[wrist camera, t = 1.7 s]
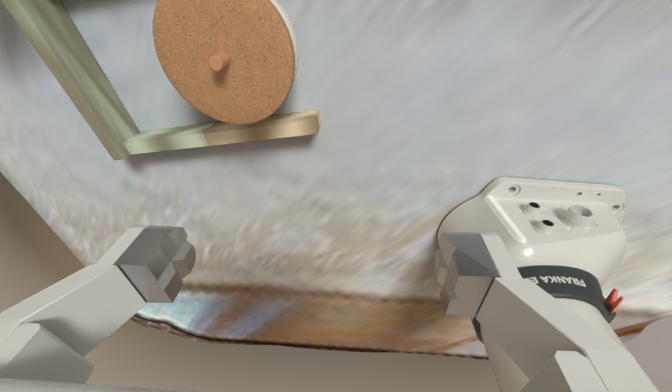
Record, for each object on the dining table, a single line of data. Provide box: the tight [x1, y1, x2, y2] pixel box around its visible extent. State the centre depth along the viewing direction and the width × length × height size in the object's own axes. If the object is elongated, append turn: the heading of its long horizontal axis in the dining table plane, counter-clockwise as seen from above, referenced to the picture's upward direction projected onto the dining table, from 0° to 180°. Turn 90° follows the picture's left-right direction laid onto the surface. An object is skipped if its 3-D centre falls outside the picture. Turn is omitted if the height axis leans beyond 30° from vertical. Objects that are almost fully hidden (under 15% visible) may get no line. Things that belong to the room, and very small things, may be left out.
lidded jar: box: [153, 0, 299, 124], centre depth 24 cm, size 11×11×9 cm
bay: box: [1, 0, 321, 160], centre depth 27 cm, size 24×18×4 cm
